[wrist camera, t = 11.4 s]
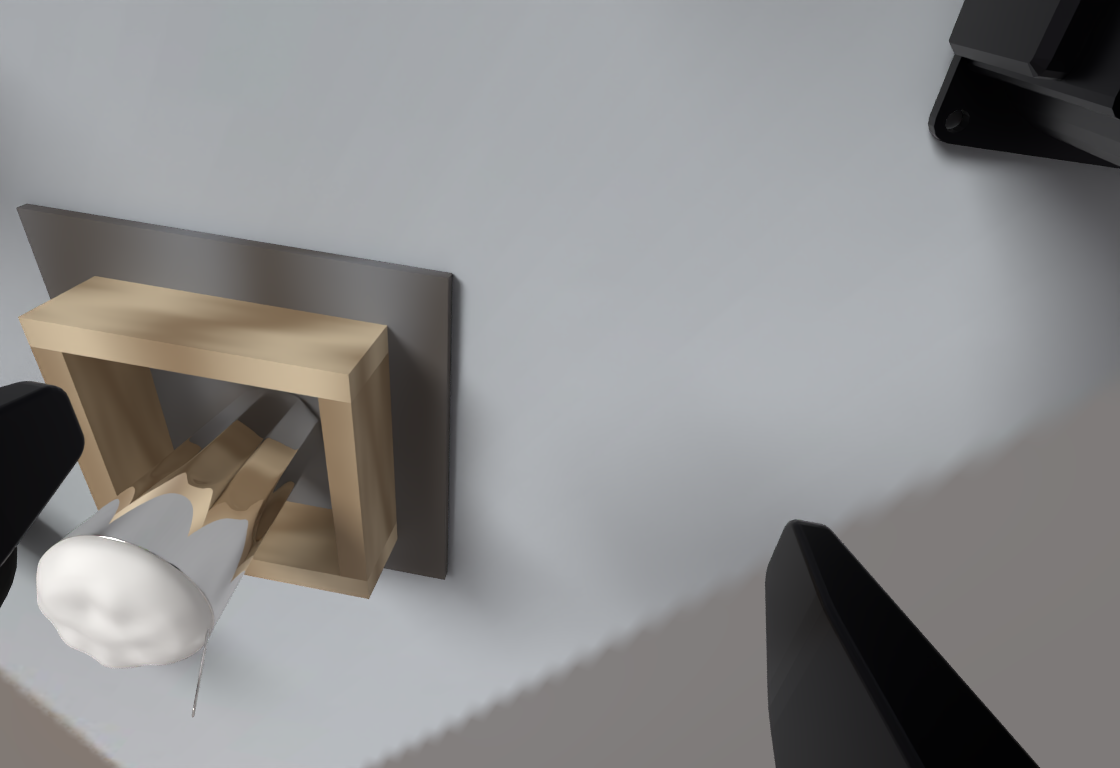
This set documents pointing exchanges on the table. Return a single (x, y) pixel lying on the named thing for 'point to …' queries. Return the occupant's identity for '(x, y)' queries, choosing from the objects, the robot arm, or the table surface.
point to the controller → (7, 574)
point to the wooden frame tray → (258, 378)
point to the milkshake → (178, 537)
